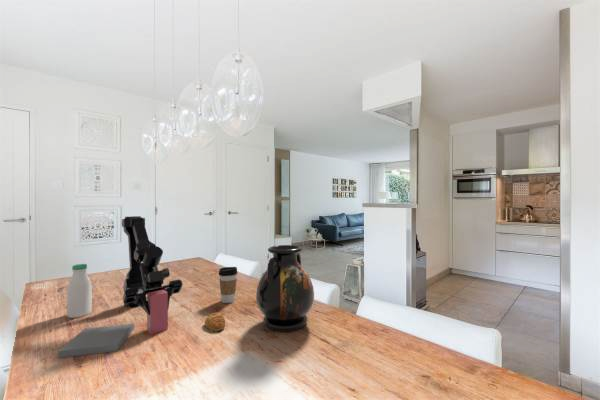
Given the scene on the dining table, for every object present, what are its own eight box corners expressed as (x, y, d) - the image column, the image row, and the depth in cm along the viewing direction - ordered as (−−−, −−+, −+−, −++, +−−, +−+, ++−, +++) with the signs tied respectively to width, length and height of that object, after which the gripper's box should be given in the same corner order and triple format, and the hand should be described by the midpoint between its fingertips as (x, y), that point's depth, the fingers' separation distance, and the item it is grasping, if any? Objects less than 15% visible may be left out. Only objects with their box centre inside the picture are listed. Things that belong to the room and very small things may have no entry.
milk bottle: (95, 312, 113) (95, 263, 113) (73, 319, 106) (73, 267, 106) (84, 309, 116) (85, 262, 116) (62, 316, 109) (63, 265, 109)
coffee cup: (232, 304, 121) (232, 270, 121) (215, 303, 122) (215, 269, 123) (240, 298, 129) (240, 266, 129) (223, 297, 131) (223, 265, 131)
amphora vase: (293, 343, 87) (292, 254, 88) (243, 326, 99) (243, 248, 99) (324, 319, 105) (324, 245, 106) (279, 307, 117) (279, 241, 117)
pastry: (229, 329, 97) (229, 318, 97) (210, 334, 94) (210, 323, 94) (221, 320, 105) (220, 310, 105) (202, 325, 101) (202, 314, 101)
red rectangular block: (147, 330, 97) (147, 292, 97) (163, 325, 101) (163, 289, 101) (150, 334, 93) (150, 296, 94) (167, 329, 97) (167, 292, 97)
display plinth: (84, 334, 94) (84, 328, 94) (134, 329, 98) (134, 323, 98) (58, 358, 79) (58, 351, 79) (117, 350, 83) (117, 344, 83)
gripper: (124, 265, 94) (131, 307, 86) (180, 258, 106) (191, 293, 98) (120, 283, 100) (126, 324, 91) (174, 274, 112) (183, 309, 104)
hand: (158, 312), depth 96 cm, fingers closed on red rectangular block, 5 cm apart
